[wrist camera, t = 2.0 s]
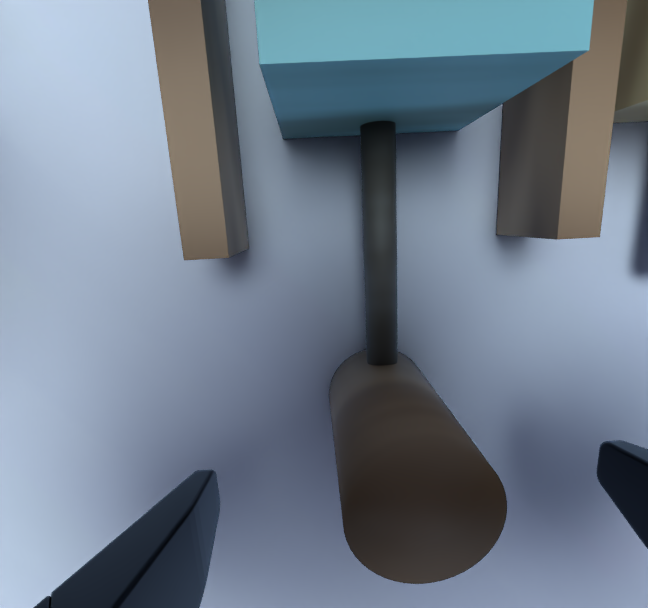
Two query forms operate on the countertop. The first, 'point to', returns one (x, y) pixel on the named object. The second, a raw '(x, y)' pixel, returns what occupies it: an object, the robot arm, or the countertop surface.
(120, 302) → the countertop surface
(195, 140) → the walnut lane rack
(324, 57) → the blue handled block
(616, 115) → the ochre block
